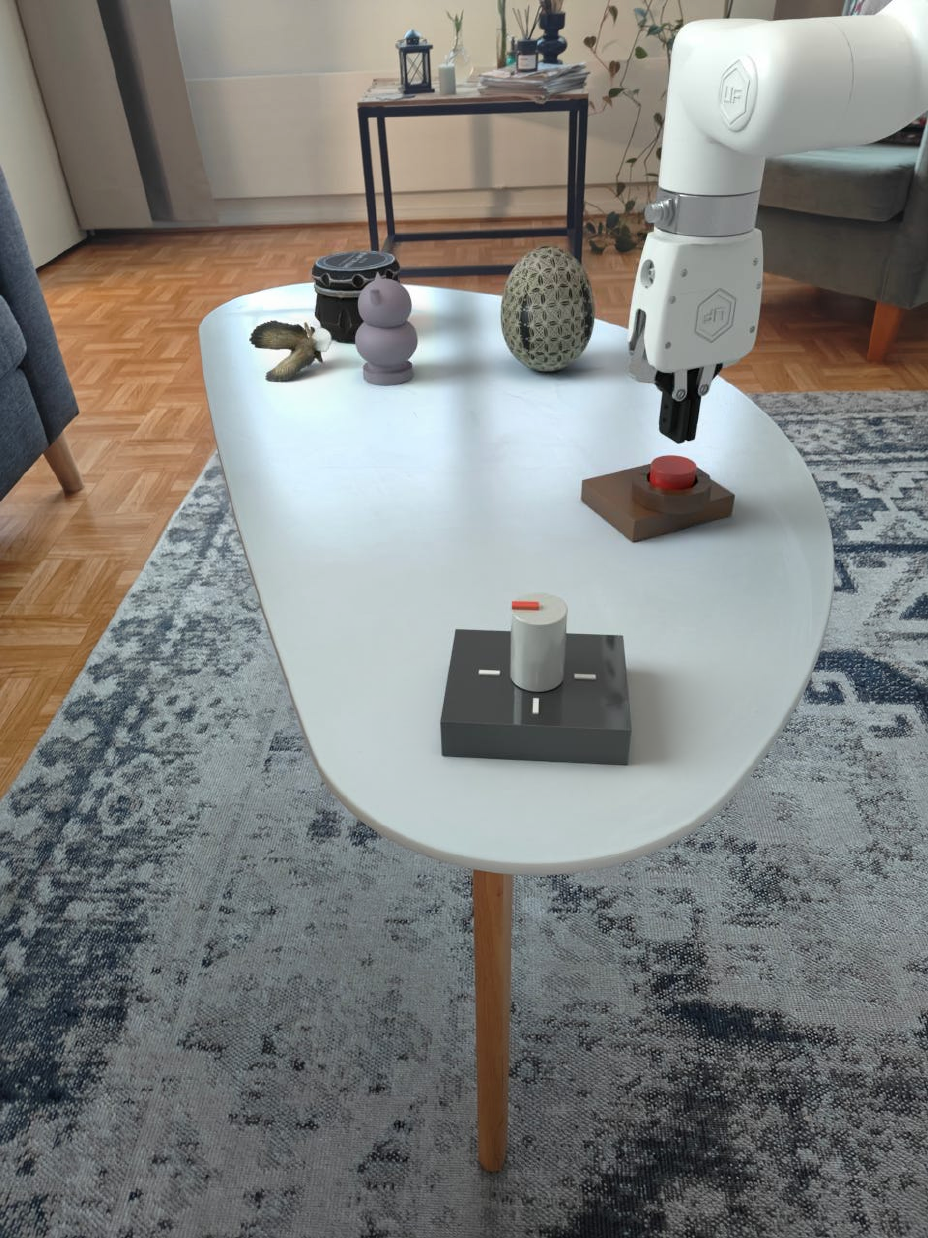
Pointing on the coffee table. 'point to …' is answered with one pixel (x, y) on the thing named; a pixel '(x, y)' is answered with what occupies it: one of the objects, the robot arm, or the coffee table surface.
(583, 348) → the decorative egg
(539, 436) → the coffee table surface
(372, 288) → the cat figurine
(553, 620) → the hob knob
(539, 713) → the hob panel
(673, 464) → the power button
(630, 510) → the power block
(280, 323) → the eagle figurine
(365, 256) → the container
